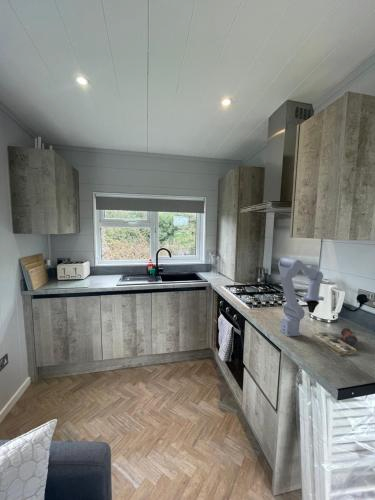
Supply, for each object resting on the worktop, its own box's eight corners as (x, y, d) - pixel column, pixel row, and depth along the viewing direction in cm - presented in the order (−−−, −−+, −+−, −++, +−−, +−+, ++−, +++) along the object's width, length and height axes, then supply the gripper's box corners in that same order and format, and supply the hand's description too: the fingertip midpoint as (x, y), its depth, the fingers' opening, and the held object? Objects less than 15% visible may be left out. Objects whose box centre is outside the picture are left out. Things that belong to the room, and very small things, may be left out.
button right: (346, 352, 106) (346, 349, 106) (340, 348, 109) (340, 345, 109) (350, 351, 107) (351, 348, 106) (345, 348, 110) (345, 345, 109)
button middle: (334, 343, 112) (334, 340, 112) (329, 340, 115) (329, 337, 115) (339, 342, 113) (339, 339, 113) (333, 339, 116) (334, 336, 115)
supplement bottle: (349, 326, 120) (355, 335, 110) (356, 336, 119) (362, 346, 109) (338, 329, 123) (342, 339, 112) (344, 339, 122) (349, 350, 112)
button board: (339, 355, 104) (340, 351, 104) (311, 337, 121) (311, 333, 120) (355, 353, 107) (356, 348, 107) (326, 335, 123) (326, 331, 123)
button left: (323, 338, 118) (323, 335, 118) (318, 335, 121) (319, 332, 121) (327, 337, 119) (328, 335, 119) (323, 335, 122) (323, 332, 122)
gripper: (308, 292, 124) (306, 315, 126) (329, 291, 128) (326, 314, 130) (299, 289, 131) (297, 310, 133) (319, 288, 135) (316, 309, 136)
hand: (311, 312), depth 132 cm, fingers closed
